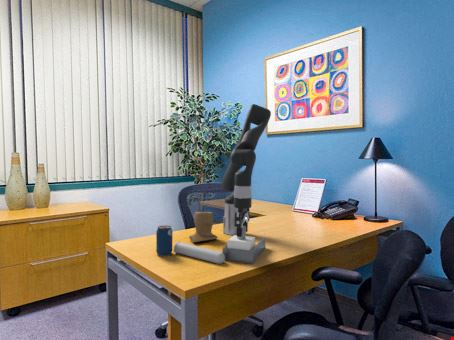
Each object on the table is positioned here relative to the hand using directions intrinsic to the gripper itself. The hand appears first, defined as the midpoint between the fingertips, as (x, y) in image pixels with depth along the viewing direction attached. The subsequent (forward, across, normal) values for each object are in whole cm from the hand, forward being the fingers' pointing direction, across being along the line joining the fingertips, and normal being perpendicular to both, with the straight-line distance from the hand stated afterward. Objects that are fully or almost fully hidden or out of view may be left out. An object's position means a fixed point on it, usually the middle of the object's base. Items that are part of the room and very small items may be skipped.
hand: (242, 234), depth 131 cm
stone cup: (+10, -19, -27) cm, 35 cm away
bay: (+10, -6, 0) cm, 12 cm away
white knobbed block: (+9, 0, 0) cm, 9 cm away
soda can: (+10, +8, -33) cm, 36 cm away
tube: (+11, +7, -17) cm, 21 cm away
